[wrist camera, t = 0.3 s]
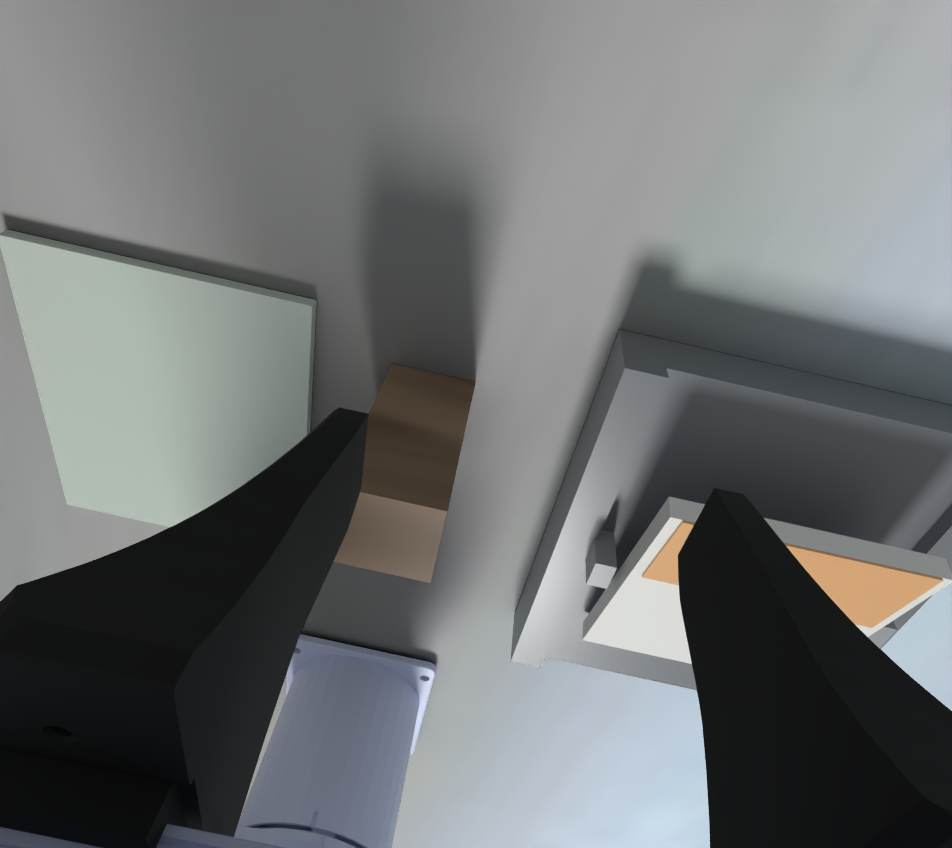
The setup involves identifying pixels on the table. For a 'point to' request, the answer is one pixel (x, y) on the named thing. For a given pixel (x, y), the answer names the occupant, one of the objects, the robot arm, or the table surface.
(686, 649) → the rocker switch
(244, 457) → the mat
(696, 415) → the switch panel
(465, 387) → the wooden brick
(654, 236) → the table surface
